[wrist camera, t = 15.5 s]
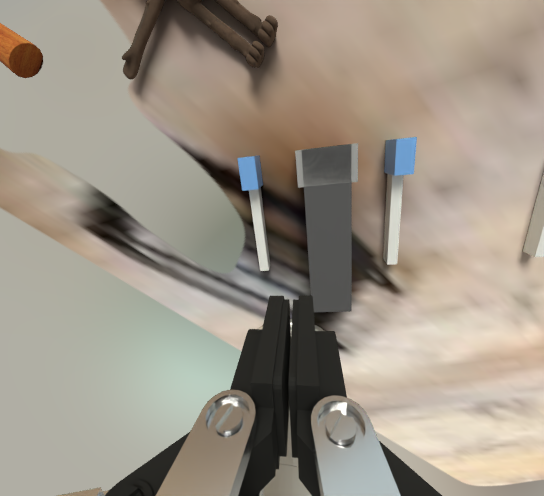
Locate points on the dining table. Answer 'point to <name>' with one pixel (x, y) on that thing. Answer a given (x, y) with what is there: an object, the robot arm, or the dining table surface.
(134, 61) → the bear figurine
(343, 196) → the dark grey rectangular block
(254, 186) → the white blue-tipped sticks
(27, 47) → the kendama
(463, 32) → the dining table surface
